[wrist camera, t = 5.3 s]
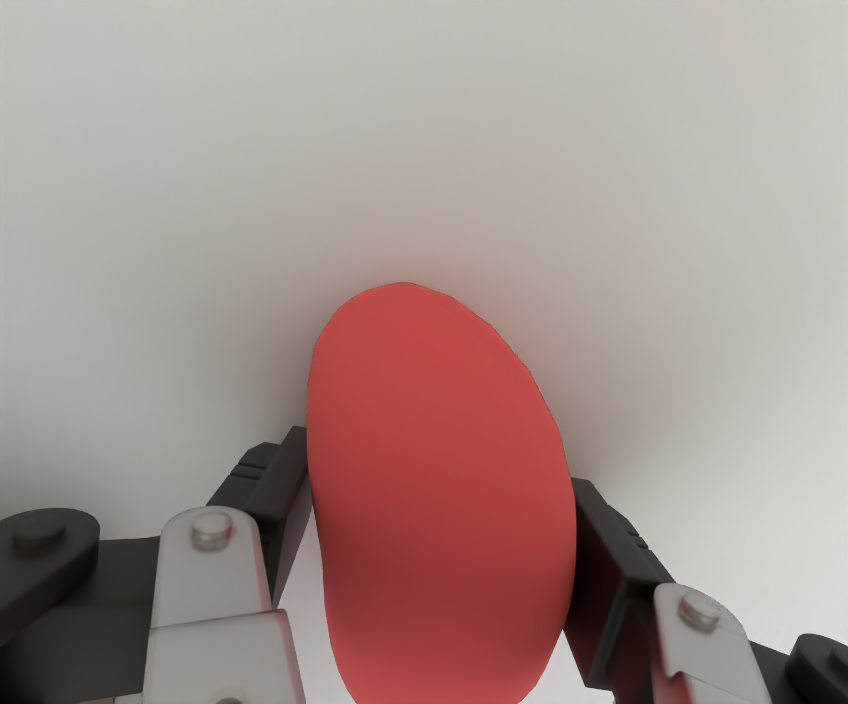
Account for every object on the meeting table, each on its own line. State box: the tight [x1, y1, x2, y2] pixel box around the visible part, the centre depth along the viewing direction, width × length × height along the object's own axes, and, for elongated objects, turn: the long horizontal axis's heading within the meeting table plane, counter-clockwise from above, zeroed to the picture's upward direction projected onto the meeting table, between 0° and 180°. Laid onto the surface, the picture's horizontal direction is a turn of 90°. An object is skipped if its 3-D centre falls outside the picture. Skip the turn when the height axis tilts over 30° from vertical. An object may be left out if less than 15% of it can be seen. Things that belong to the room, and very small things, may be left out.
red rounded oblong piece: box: [306, 282, 576, 704], centre depth 10 cm, size 5×9×6 cm, turn 172°
